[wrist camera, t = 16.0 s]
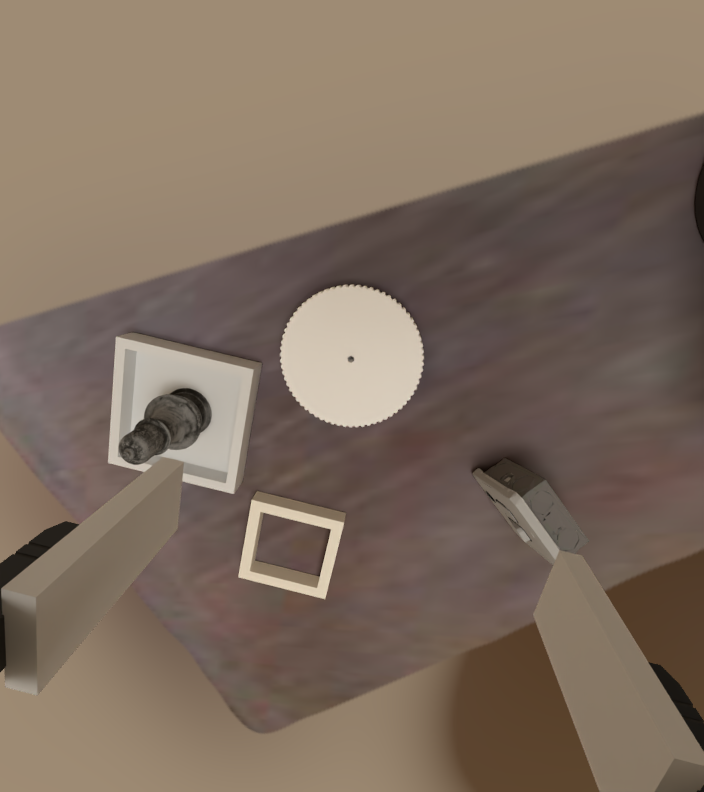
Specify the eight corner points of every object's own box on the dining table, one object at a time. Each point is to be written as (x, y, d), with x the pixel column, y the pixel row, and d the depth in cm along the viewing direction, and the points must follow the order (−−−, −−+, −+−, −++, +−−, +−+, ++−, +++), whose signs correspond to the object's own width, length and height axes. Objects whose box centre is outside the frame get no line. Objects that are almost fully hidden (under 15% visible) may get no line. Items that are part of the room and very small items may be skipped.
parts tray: (262, 363, 47) (253, 369, 44) (242, 481, 51) (233, 493, 48) (133, 332, 47) (116, 336, 44) (124, 451, 51) (108, 462, 48)
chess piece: (216, 390, 47) (158, 431, 36) (212, 441, 49) (156, 496, 37) (162, 380, 47) (87, 417, 36) (160, 432, 49) (88, 483, 38)
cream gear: (415, 275, 43) (417, 275, 41) (428, 412, 47) (429, 420, 44) (275, 293, 45) (268, 295, 42) (297, 424, 49) (292, 433, 46)
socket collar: (346, 512, 51) (344, 522, 49) (327, 587, 54) (325, 599, 52) (257, 491, 51) (251, 499, 49) (243, 566, 54) (238, 577, 52)
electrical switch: (469, 469, 48) (494, 511, 39) (510, 442, 47) (546, 478, 38) (516, 533, 50) (551, 587, 41) (556, 508, 49) (601, 557, 40)
